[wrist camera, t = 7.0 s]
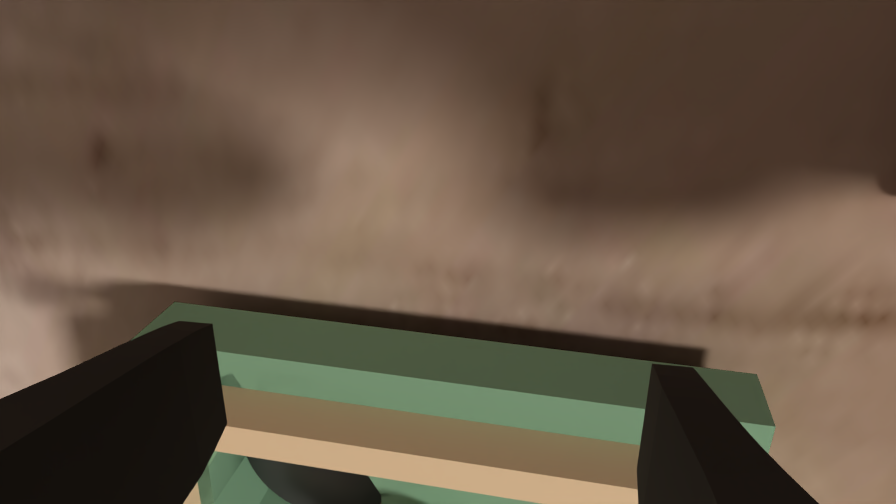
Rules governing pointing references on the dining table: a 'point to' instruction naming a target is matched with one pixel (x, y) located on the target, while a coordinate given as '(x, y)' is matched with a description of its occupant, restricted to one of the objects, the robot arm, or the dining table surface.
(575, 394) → the board
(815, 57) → the dining table surface
